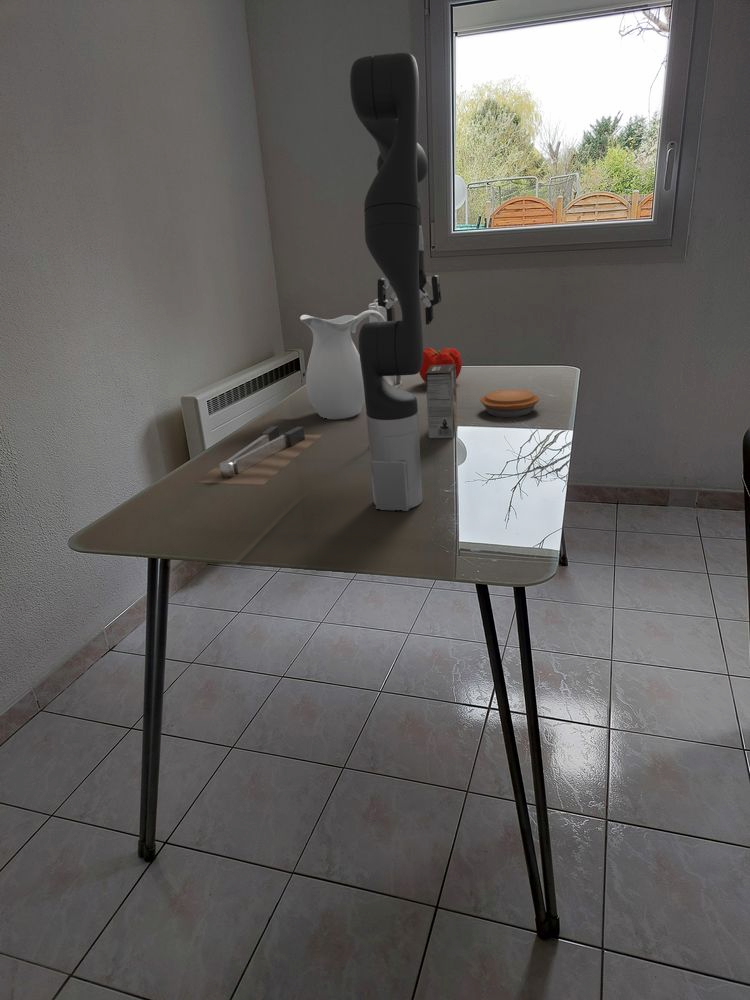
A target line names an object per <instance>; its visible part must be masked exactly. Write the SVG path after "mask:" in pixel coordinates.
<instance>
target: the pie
mask: <svg viewBox="0 0 750 1000" xmlns="http://www.w3.org/2000/svg"><path fill="white" fill-rule="evenodd" d="M479 401H480V402H481V404H482V405H483V407H484V408H485V409H486V411H487V413H488V414H490V415H491V416H494V415H495V416H494V417H499V416H501V417H500V418H516V416H517V417H522V415H523V416H527V415H529V414H530V413H532V411H533V410H534V408H535V405H537V404H538V403H539V401H540V396H539V395H538V394H535V393H533V392H531V391H529V390H525V389H524V390H523V389H501V390H496V391H495V390H494V391H491V392H489V393H487V394H485V395H484V396H482V397H480V399H479Z"/></svg>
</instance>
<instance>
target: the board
mask: <svg viewBox="0 0 750 1000" xmlns="http://www.w3.org/2000/svg"><path fill="white" fill-rule="evenodd" d="M283 434H284V433H282V434H280V433H279V435H280V436H282V435H283ZM304 435H305V439H304V440H302V441H301V442H299V443H297V444H295V445H293V446H291V447H290V446H288V447H286V448H284V449H282V450H281V451H279V452H277V453H275V454H273V455H271V456H269V457H268V458H266V459H264V460H262V461H260V462H258V463H256V464H255V465H253V466H251V467H249V468H247V469H245V470H243V471H242V472H240V473H235V476H234V477H233V478H229V479H223V478H222V476H221V470H220V464H218V465H217V466H216V467H213V468H212V469H211V470H209V471H208V472H206V473H205V474H204V475H202V476H201V477H199V478H198V479H197V480H195V481H194V483H196V484H197V483H202V484H221V485H222V484H225V485H226V484H228V485H229V484H230V485H248V486H250V485H252V486H264V485H265V484H266V483H267V482H268V481H269V480H271V479H272V478H273V477H274V476H276V475H277V474H278V473H279V472H280V471H282V470H283V469H284V468H286V466H287V465H288V464H290V463H291V462H292V461H293V460H294V459H296V458H297V457H298V456H299V455H301V454H302V453H303V452H304V451H305V450H306V449H307V448H308V447H310V446H311V445H312V444H313V443H314V442H316V441H317V440H318V439H319V438H320V437H321V436H322V435H323V434H304ZM260 437H261V435H260V436H258V437H257V438H256V439H254V440H253V441H252V442H250V443H248V444H247V445H246V446H245V447H247V446H248V445H250V444H251V443H253V442H254V441H255V440H257V439H258V438H260ZM245 447H243V448H242V449H244V448H245ZM242 449H240V450H238V451H237V452H236V453H234V454H233V455H231V456H230V457H228V458H227V459H225V460H224V461H227V460H228V459H229V458H231V457H232V456H234V455H235V454H237V453H238V452H240V451H241V450H242Z"/></svg>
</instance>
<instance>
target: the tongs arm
mask: <svg viewBox="0 0 750 1000" xmlns="http://www.w3.org/2000/svg"><path fill="white" fill-rule="evenodd" d="M282 434H283V435H282V436H280V437H278V438H276V439H274V440H272V441H270V442H268V443H266V444H264V445H262V446H260V447H258V448H256V449H254V450H252V451H250V452H248V453H247V454H245V455H243V456H241V457H239V458H237V459H235V460H233V466H234V472H235V473H240V472H242V471H243V470H245V469H247V468H249V467H251V466H253V465H255V464H256V463H258V462H260V461H262V460H264V459H266V458H268V457H269V456H271V455H273V454H275V453H277V452H279V451H281V450H282V449H284V448H286V447H288V446H290V447H291V446H293V445H295V444H297V443H299V442H301V441H302V440H304V439H305V435H306V434H305V428H304V426H296V427H294V428H292V429H290V430H288V431H286V432H285V433H282Z"/></svg>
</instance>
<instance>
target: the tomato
mask: <svg viewBox="0 0 750 1000" xmlns="http://www.w3.org/2000/svg"><path fill="white" fill-rule="evenodd" d="M462 362H463V361H462V356H461V353H460V352H459V351H458V349H456V348H453V347H450V348H448V347H444V348H443V349H441V350H440V349H437V350H435V349H433V348H432V347H425V348H424V349H423V362H422V367H421V370H420V371H419V373H418V374H419V376H420V378H421V379H422V380H423V381H424V383H425V384H426V372H427V371H428V369H429V367H430V366H431V365H450V364H456V380H457V379H458V378H459V376H460V374H461V371H462V367H463V366H462V365H463V364H462Z"/></svg>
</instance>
